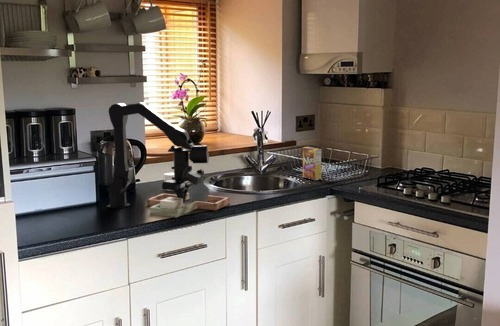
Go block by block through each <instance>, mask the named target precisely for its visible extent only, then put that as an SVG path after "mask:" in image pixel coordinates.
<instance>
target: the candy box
mask: <svg viewBox="0 0 500 326" xmlns="http://www.w3.org/2000/svg"><path fill="white" fill-rule="evenodd" d="M303 177H305V178H310V179H319V178H321V179H322V148H316V147H312V146H304V147H302V178H303Z"/></svg>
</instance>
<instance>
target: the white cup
mask: <svg viewBox="0 0 500 326" xmlns="http://www.w3.org/2000/svg"><path fill="white" fill-rule="evenodd" d="M172 177H174V171H171V172H165V173H163V182H164V181H167V180H172ZM164 190H165V191H168V192H169V191H171V192H172V191H173V192H174V190H166V189H164Z"/></svg>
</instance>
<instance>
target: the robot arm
mask: <svg viewBox="0 0 500 326" xmlns="http://www.w3.org/2000/svg"><path fill="white" fill-rule="evenodd" d="M136 114H139V115H140V116H141V117H143V118H144V119H146V120H147V121H148V122H149V123H150V124H152V125H153V126H155V127H156V128H157V129H159V130H160V131H162V132H163V133H164V134H165V136H166V137H167V139H168V140H169V141H170V142H171V143H172V145H171V146H170V148H169V149H168V150H167V152H168V153H173V165H172V166H171V170H173V172H174V177H172V180H167V181H164V180H163V182H162V183H161V189H162V190H165V189H166V190H165V191H168V190H174V191H173V192H174V193H175V195H177V197H178V198H182V199H183V204H185V202H186V200H185V199H186V195H187V193H189V189H191V188H192V187H193V186H194V185H195V186H196V185H197V186H198V185H199V184H202V181H203V179H205V171H204V170H203V169H202V168H200V169H197V170H194V169H193V167H192V165H190V162H191V163H192V164H209V161H210V153H209V149H208V147H209V146H208V144H206V145H205V144H203V145H195V144H194V142H193V141H192V139H191V137H190V134H189V132H188V131H187V130H185V129H184V128H182V127H180V126H177V125H175V124H172V123H171V122H170V121H168V120H167V119H165V118H164V117H163V116H161V115H160V114H159V113H158V112H156V111H155V110H154V109H152V108H151V107H149V106H148V105H147V104H146V102H144V101H143V102H141V101H140V102H136V103H129V104H126V103H124V102H118V103H114V104H112V105H111V106H110V107H109V108H108V116H109V120H110V122H111V125H112V128H113V138H114V155H115V157H114V158H115V159H114V160H115V165H114V169H113V175H112V182H111V183H110V184H109V185H108V186H107V187H106V190H107V193H108V194H109V204H108V205H106V208H110V209H116V210H117V209H118V210H121V209H124V208H127V207H129V206H131V204H130V203H128V195H127V188H128V186H129V185H130V184H131V183H132V180H133V178H134V174H133V170H134V168H133V167H130V166H129V164H128V151H127V149H128V148H127V130H126V126H127V123H128V119H129V116H130V115H136Z"/></svg>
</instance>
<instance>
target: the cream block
mask: <svg viewBox="0 0 500 326" xmlns="http://www.w3.org/2000/svg"><path fill="white" fill-rule="evenodd" d="M183 206H184V203H183V199H182V198H174V197H168V198H165V199H163V200H160V208H165V209H173V210H176V209H179V208H181V207H183Z"/></svg>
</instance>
